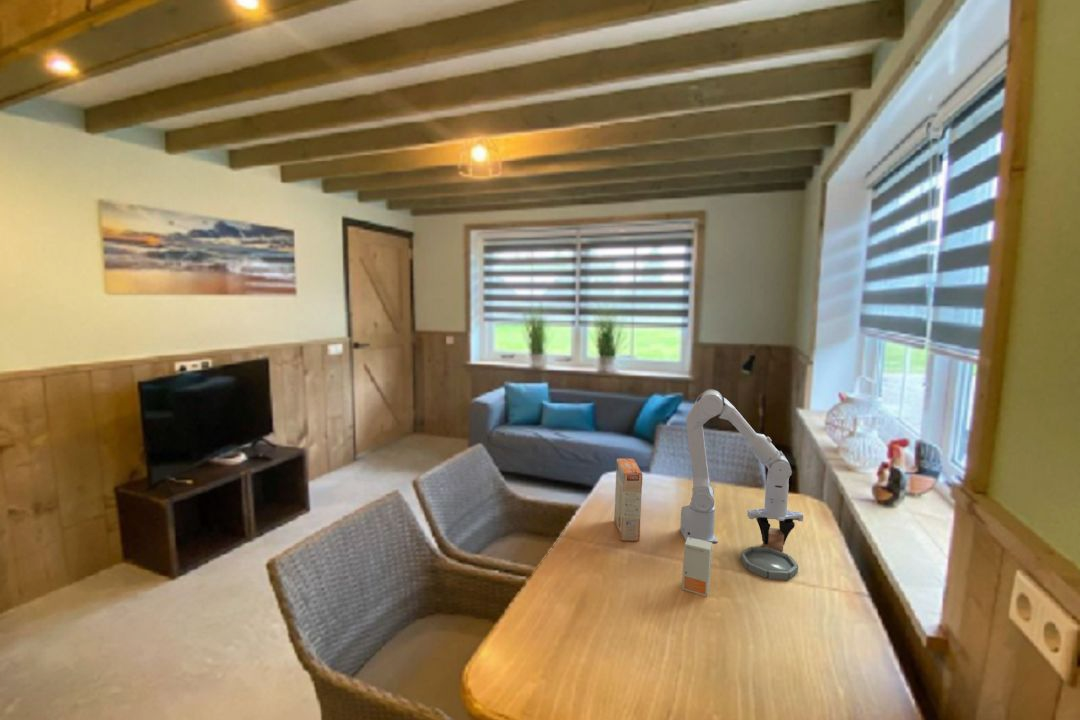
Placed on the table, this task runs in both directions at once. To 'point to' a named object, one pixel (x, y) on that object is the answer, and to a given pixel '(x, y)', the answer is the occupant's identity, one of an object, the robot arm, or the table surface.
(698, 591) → the skincare box
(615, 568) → the table surface
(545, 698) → the table surface
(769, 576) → the dish
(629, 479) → the cracker box
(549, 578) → the table surface
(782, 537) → the block
